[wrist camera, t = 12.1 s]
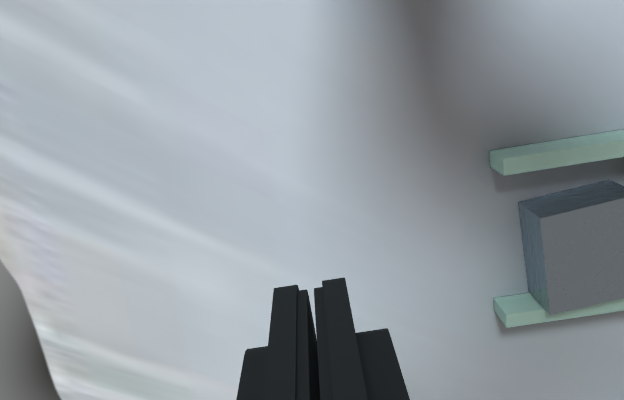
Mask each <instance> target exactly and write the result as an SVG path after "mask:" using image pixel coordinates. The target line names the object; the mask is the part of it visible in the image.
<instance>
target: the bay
mask: <svg viewBox="0 0 624 400" xmlns="http://www.w3.org/2000/svg"><path fill="white" fill-rule="evenodd" d="M620 157H624V129H623V130H617V131H611V132H604V133H598V134H592V135H585V136H579V137H573V138H566V139H560V140H554V141H548V142H541V143H535V144H529V145H522V146H516V147H510V148H503V149H497V150H491V151H490V167H491V168H493V169H494V170H496V171H497V172H499V173H500V174H502V175H503V176H505V175H512V174H518V173H525V172H531V171H537V170H544V169H550V168H556V167H563V166H569V165H576V164H582V163H588V162H595V161H601V160H607V159H614V158H620ZM494 311H495V313H496V314H497V315H498V317H499V318H500V320H501V321H502V322H503V324H504V325H505V327H506V328H510V327H516V326H523V325H530V324H537V323H544V322H550V321H557V320H564V319H571V318H577V317H584V316H591V315H598V314H605V313H611V312H618V311H624V298H622V299H618V300H614V301H610V302H605V303H601V304H597V305H593V306H588V307H584V308H580V309H575V310H571V311H567V312H563V313H558V314H554V315H549V314H548V313H547V312H546V310H545V309H544V308H543V307H542V306H541V305H540V304H539V303H538V302H537V301H536V300H535V298H534V297H533V296H532V295H531V294H530V293H524V294H517V295H511V296H504V297H497V298H494Z"/></svg>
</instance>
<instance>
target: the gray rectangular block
mask: <svg viewBox="0 0 624 400" xmlns="http://www.w3.org/2000/svg"><path fill="white" fill-rule="evenodd" d="M518 206H519V215H520V223H521V232H522V241H523V249H524V258H525V266H526V275H527V284H528V292H529V293H530V294H531V295H532V296H533V297H534V298H535V300H536V301H537V302H538V303H539V304H540V305H541V306H542V307H543V308H544V309H545V310H546V312H547V313H548V314H549V315H554V314H558V313H563V312H567V311H571V310H575V309H580V308H584V307H588V306H593V305H597V304H601V303H605V302H610V301H614V300H618V299H622V298H624V186H621V185H619V184H617V183H615V182H613V181H610V180H606V181H602V182H598V183H594V184H590V185H586V186H582V187H578V188H574V189H569V190H565V191H561V192H557V193H553V194H549V195H545V196H541V197H537V198H533V199H529V200H525V201H521V202H518Z"/></svg>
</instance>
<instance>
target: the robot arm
mask: <svg viewBox="0 0 624 400" xmlns="http://www.w3.org/2000/svg"><path fill="white" fill-rule="evenodd" d="M322 285H323V287H320V288H314V297H315V315H316V332H317V339H316V334H315V328H314V323H313V317H312V312H311V307H310V301H309V296H308V291H307V290H300V291H299V288H298V285H292V286H286V287H279V288H274V293H273V303H272V313H271V323H270V332H269V342H268V346H265V347H259V348H252V349H247V350H246V351H245V355H244V360H243V366H242V372H241V377H240V383H239V389H238V395H237V400H410V399H409V396H408V393H407V389H406V386H405V383H404V379H403V376H402V373H401V370H400V366H399V363H398V360H397V356H396V353H395V350H394V347H393V343H392V340H391V337H390V334H389V331H388V329H380V330H373V331H366V332H360V333H355V329H354V324H353V318H352V313H351V308H350V302H349V297H348V292H347V287H346V281H345V278H338V279H332V280H325V281H322Z"/></svg>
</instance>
